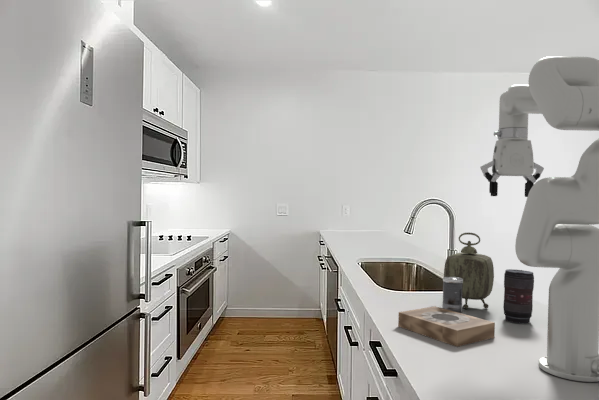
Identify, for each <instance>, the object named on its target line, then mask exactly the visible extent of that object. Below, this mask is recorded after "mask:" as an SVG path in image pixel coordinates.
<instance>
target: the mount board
mask: <svg viewBox="0 0 599 400" xmlns="http://www.w3.org/2000/svg"><path fill="white" fill-rule="evenodd" d="M397 323H398V327H400V328H401V329H402V328H403V329H405V330H408V331H410V332H414V333H416V334H418V335H422V336H425V337H427V338H431V339H433V340H436V341H439V342H442V343H445V344H447V345H450V346H454V347H457V348H458V347H461V346H466V345H470V344H474V343H479V342H482V341H487V340H491V339H495V336H496V334H495V333H496V332H495V331H496V330H495V329H496V327H495V326H496V322H494V321H490V320H487V319H483V318H479V317H476V316H472V315H468V314H465V313H463V312H462V313H458V312H454V311H451V310H447V309H443V308H442V307H440V306H439V307H438V306H436V305H434V306H428V307H422V308H415V309H410V310H404V311H399V312H398V322H397ZM490 338H491V339H490Z"/></svg>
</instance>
